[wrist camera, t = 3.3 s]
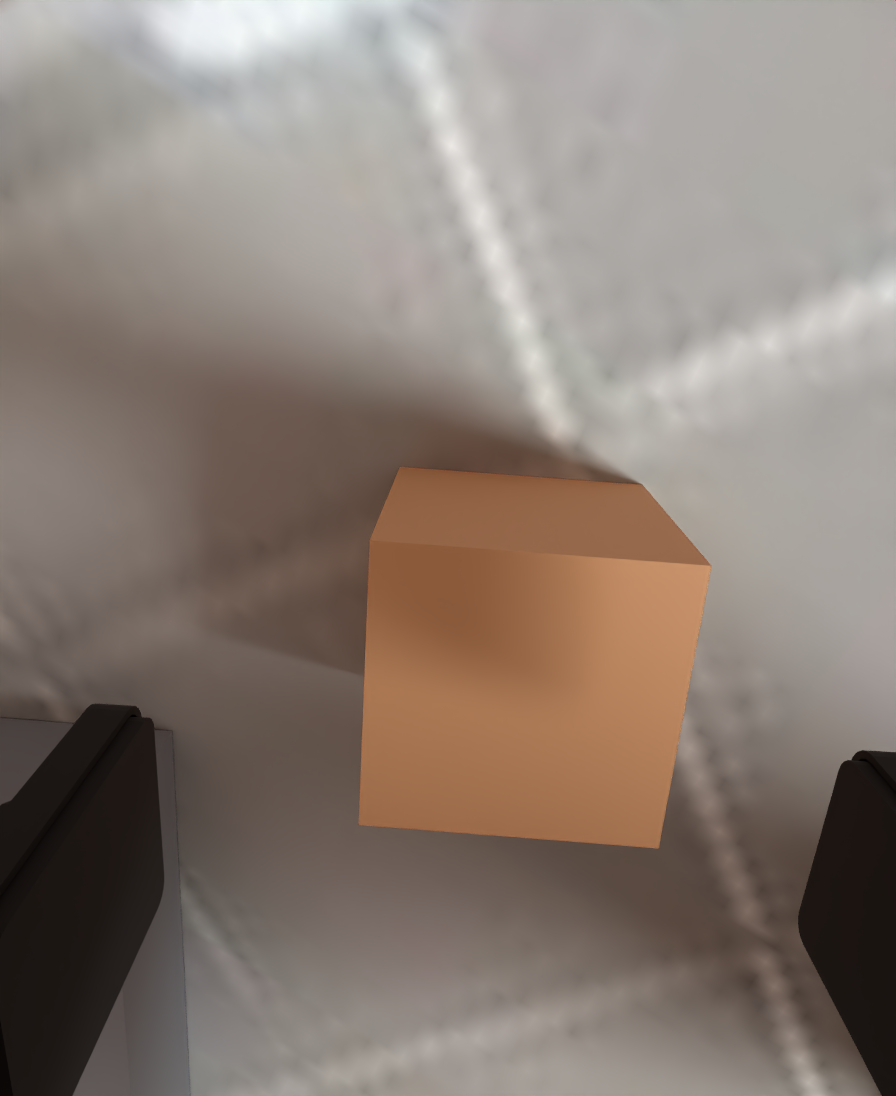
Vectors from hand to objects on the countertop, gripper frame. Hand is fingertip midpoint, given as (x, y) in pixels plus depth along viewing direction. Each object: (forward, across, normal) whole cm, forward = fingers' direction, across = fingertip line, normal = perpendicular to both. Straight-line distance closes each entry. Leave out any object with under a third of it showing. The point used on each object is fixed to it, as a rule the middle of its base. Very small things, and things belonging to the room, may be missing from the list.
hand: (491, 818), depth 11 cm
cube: (+10, -1, +1) cm, 10 cm away
